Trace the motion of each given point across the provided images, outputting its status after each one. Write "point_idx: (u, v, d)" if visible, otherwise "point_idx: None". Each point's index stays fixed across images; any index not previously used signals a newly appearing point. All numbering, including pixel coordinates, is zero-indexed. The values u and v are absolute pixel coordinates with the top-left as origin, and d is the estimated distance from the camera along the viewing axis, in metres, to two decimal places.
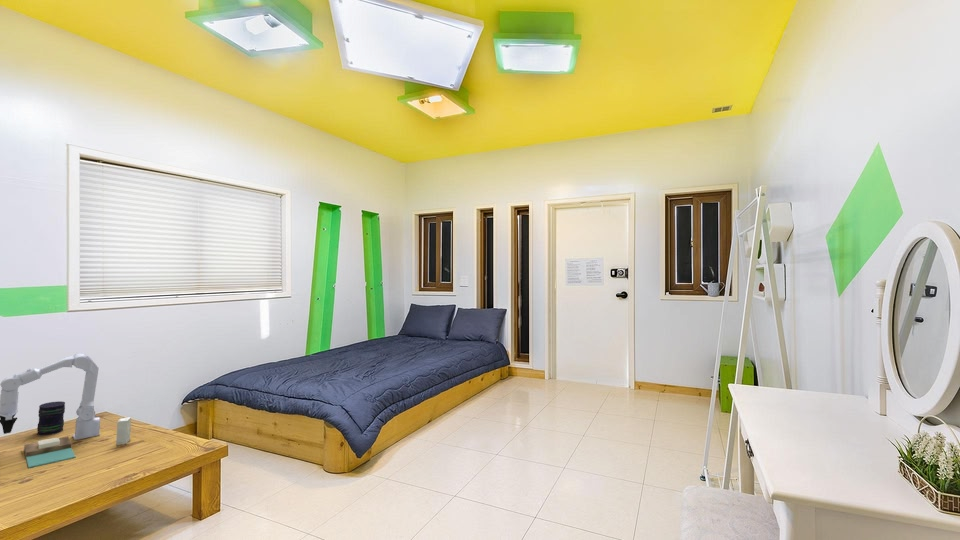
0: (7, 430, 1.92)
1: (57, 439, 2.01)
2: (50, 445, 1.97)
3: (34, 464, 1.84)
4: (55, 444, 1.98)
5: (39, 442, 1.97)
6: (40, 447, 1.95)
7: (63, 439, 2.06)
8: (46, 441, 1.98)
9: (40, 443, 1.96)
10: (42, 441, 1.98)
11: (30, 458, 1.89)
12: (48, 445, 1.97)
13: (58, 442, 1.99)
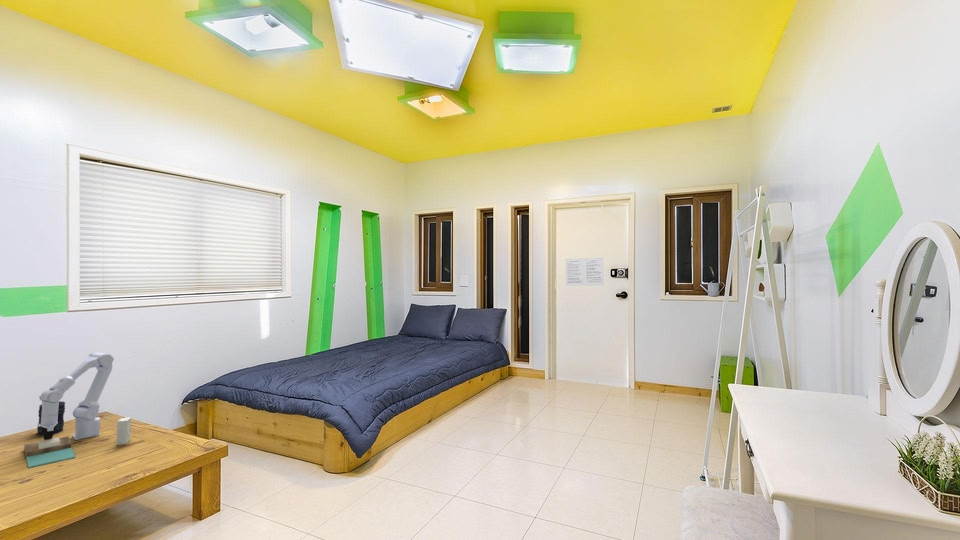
0: None
1: (57, 439, 2.01)
2: (50, 445, 1.97)
3: (34, 464, 1.84)
4: (55, 444, 1.98)
5: (39, 442, 1.96)
6: (40, 447, 1.94)
7: (63, 439, 2.06)
8: (46, 441, 1.98)
9: (40, 443, 1.95)
10: (42, 441, 1.98)
11: (30, 458, 1.89)
12: (48, 445, 1.96)
13: (58, 442, 1.99)
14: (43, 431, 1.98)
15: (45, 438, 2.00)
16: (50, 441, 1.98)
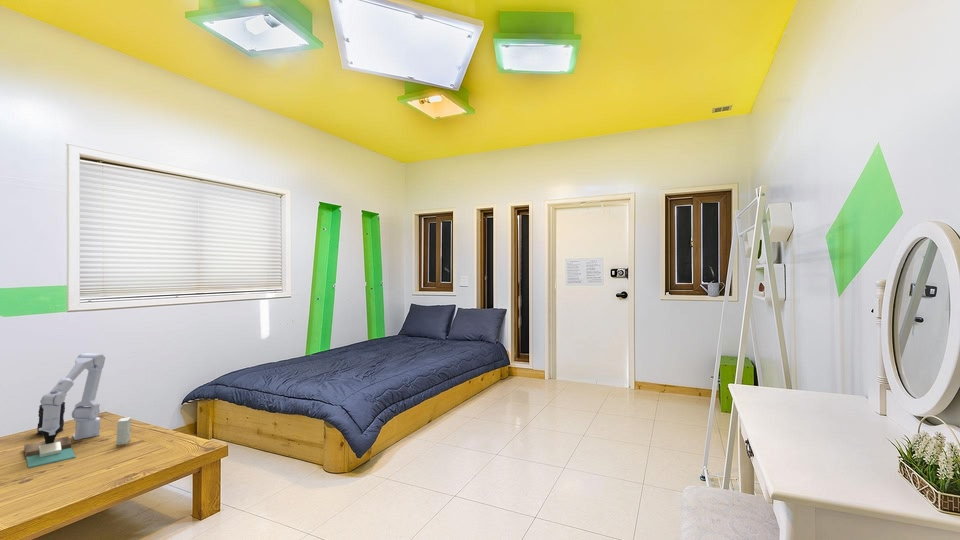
0: (49, 443, 1.96)
1: (59, 446, 1.96)
2: (51, 453, 1.93)
3: (34, 464, 1.84)
4: (56, 452, 1.94)
5: (40, 448, 1.92)
6: (41, 456, 1.90)
7: (63, 439, 2.06)
8: (47, 448, 1.93)
9: (41, 451, 1.91)
10: (43, 447, 1.93)
11: (30, 458, 1.89)
12: (49, 453, 1.92)
13: (60, 450, 1.95)
14: (45, 435, 1.94)
15: (47, 442, 1.95)
16: (51, 448, 1.94)
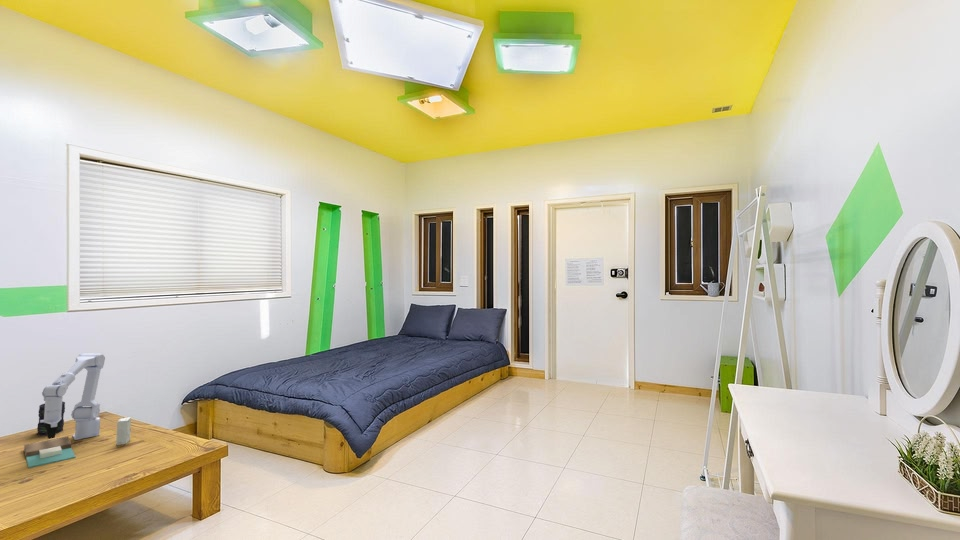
0: (51, 435, 1.94)
1: (59, 448, 1.96)
2: (52, 454, 1.92)
3: (34, 464, 1.84)
4: (57, 453, 1.93)
5: (40, 451, 1.92)
6: (41, 456, 1.90)
7: (63, 439, 2.06)
8: (48, 450, 1.93)
9: (41, 452, 1.91)
10: (44, 450, 1.93)
11: (30, 458, 1.89)
12: (50, 454, 1.92)
13: (60, 451, 1.94)
14: (46, 427, 1.92)
15: (48, 434, 1.93)
16: (52, 450, 1.93)
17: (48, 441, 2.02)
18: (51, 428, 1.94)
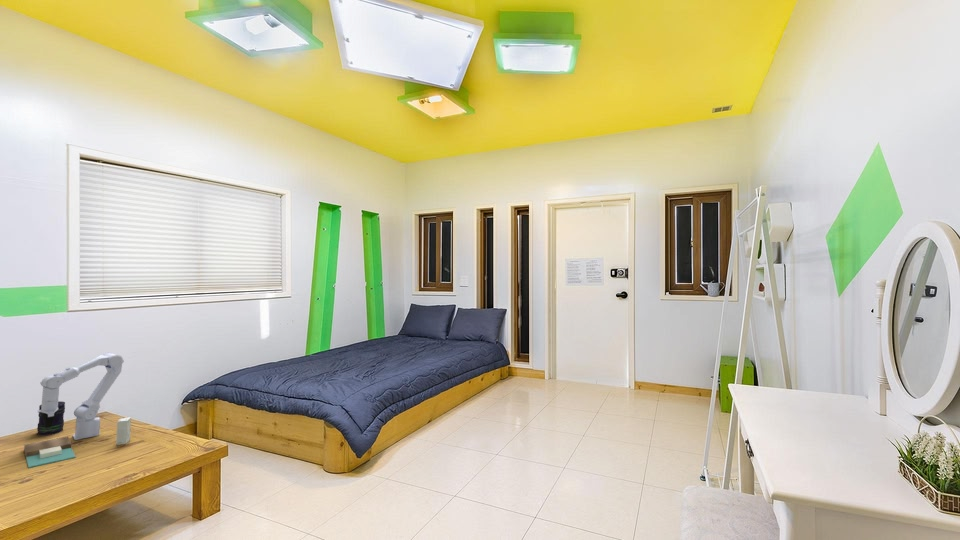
0: (48, 424, 2.02)
1: (59, 448, 1.96)
2: (52, 454, 1.92)
3: (34, 464, 1.84)
4: (57, 453, 1.93)
5: (40, 451, 1.92)
6: (41, 456, 1.90)
7: (63, 439, 2.06)
8: (48, 450, 1.93)
9: (41, 452, 1.91)
10: (44, 450, 1.93)
11: (30, 458, 1.89)
12: (50, 454, 1.92)
13: (60, 451, 1.94)
14: (43, 417, 2.00)
15: (45, 424, 2.02)
16: (52, 450, 1.93)
17: (48, 441, 2.02)
18: (48, 418, 2.02)
